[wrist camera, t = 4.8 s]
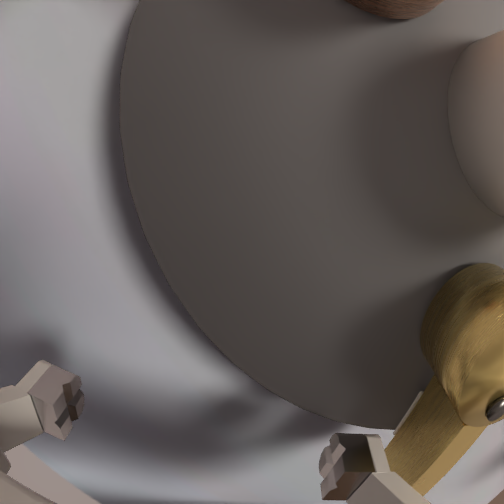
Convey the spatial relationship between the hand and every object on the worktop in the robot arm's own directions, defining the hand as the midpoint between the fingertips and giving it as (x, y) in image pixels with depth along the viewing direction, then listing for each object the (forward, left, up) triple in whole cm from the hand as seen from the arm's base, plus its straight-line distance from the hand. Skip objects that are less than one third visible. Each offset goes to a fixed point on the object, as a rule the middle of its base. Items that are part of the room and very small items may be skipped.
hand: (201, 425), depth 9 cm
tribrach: (-14, +1, -4) cm, 14 cm away
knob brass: (-6, +6, -1) cm, 8 cm away
